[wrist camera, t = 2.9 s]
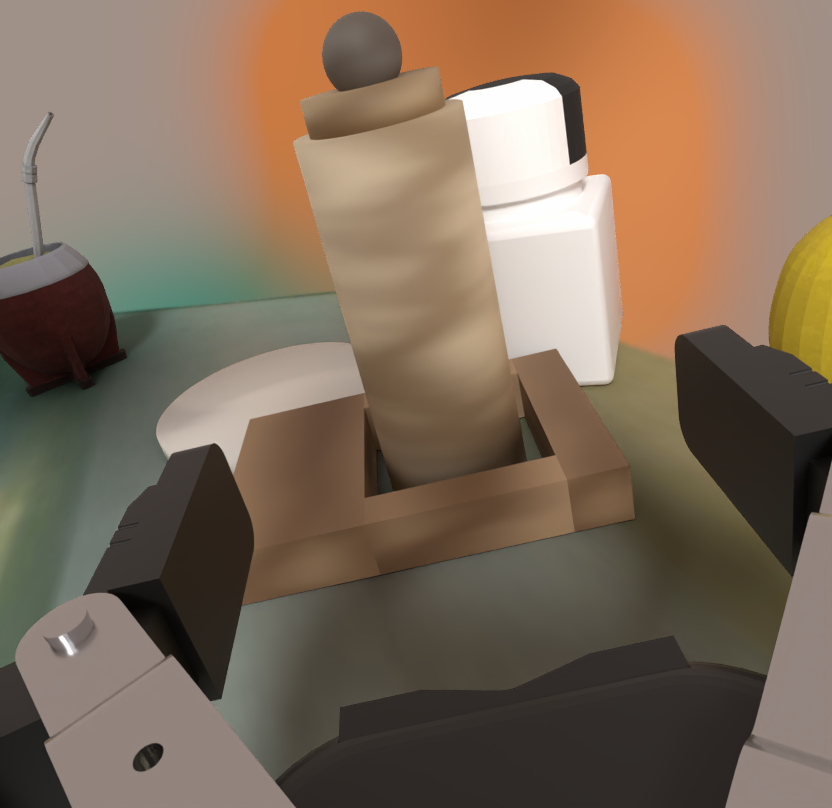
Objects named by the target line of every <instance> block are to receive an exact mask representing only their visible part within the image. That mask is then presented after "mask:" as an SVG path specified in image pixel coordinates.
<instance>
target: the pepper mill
mask: <svg viewBox="0 0 832 808" xmlns="http://www.w3.org/2000/svg"><path fill="white" fill-rule="evenodd" d="M322 57H323V65H324V69H325V72H326V74H327V76H328V78H329V80H330V81H331V83H332V84H333V85H334V87H335V88H336V89H334V90H331V91H327V92H324V93H321V94H318V95H314V96H311V97H308V98H306V99H303V100H301V101H300V104H301V108H302V112H303V115H304V119H305V123H306V126H307V130H308V133H309V134H307V135H305V136H302V137H300V138H298V139H296V140H295V141H294V142H293V145H294V148H295V152H296V155H297V158H298V162H299V166H300V169H301V172H302V176H303V180H304V183H305V186H306V190H307V193H308V197H309V200H310V204H311V207H312V211H313V214H314V218H315V221H316V224H317V228H318V232H319V235H320V239H321V242H322V245H323V249H324V252H325V256H326V259H327V263H328V266H329V270H330V273H331V276H332V280H333V283H334V287H335V291H336V294H337V297H338V301H339V304H340V308H341V311H342V315H343V318H344V322H345V325H346V329H347V332H348V336H349V339H350V343H351V346H352V349H353V353H354V356H355V360H356V363H357V367H358V370H359V374H360V377H361V381H362V384H363V388H364V391H365V395H366V398H367V401H368V405H369V408H370V412H371V415H372V419H373V422H374V426H375V429H376V433H377V436H378V440H379V443H380V447H381V450H382V453H383V457H384V460H385V464H386V467H387V471H388V474H389V478H390V481H391V485H392V488H393V492H394V491H399V490H403V489H407V488H412V487H416V486H421V485H425V484H430V483H434V482H439V481H443V480H447V479H452V478H456V477H461V476H465V475H470V474H474V473H479V472H483V471H487V470H492V469H496V468H501V467H505V466H510V465H514V464H519V463H523V462H527V460H526V455H525V449H524V444H523V438H522V432H521V427H520V421H519V415H518V410H517V404H516V398H515V393H514V387H513V381H512V376H511V370H510V365H509V359H508V353H507V348H506V342H505V336H504V331H503V325H502V319H501V314H500V308H499V303H498V297H497V291H496V286H495V280H494V274H493V269H492V263H491V257H490V252H489V246H488V240H487V235H486V229H485V224H484V218H483V212H482V207H481V201H480V195H479V190H478V184H477V178H476V173H475V167H474V161H473V156H472V150H471V145H470V139H469V133H468V128H467V122H466V116H465V111H464V105H463V101H462V100H459V99H450V100H444V96H443V90H442V84H441V79H440V74H439V69H438V67H428V68H422V69H418V70H412V71H407V72H402V73H400V70H401V65H402V50H401V45H400V42H399V39H398V37H397V35H396V33H395V31H394V30H393V29H392V27H391V26H390V25H389V24H388V23H387V22H386V21H385V20H384V19H382V18H381V17H379V16H377V15H375V14H372V13H368V12H353V13H350V14H347V15H345V16H343V17H341V18H340V19H338V20H337V21H336V22H335V23H334V24H333V25H332V27H331V28H330V30H329V31H328V33H327V35H326V37H325V40H324V44H323V52H322Z"/></svg>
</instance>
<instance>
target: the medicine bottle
mask: <svg viewBox="0 0 832 808" xmlns="http://www.w3.org/2000/svg"><path fill="white" fill-rule="evenodd" d="M450 99H459V100H462V101H463V105H464V111H465V116H466V122H467V128H468V133H469V139H470V145H471V150H472V156H473V161H474V167H475V173H476V178H477V184H478V190H479V195H480V201H481V207H482V212H483V218H484V224H485V229H486V235H487V240H488V246H489V252H490V257H491V263H492V269H493V274H494V280H495V286H496V291H497V297H498V303H499V308H500V314H501V319H502V325H503V331H504V336H505V342H506V348H507V353H508V359H513V358H517V357H521V356H526V355H530V354H534V353H539V352H543V351H547V350H552V349H557V350H558V352H559V354H560V355H561V357H562V358H563V360H564V362H565V363H566V365H567V366H568V368H569V369H570V371H571V373H572V374H573V376H574V377H575V379H576V381H577V382H578V384H579V385H580V386H590V385H607V384H609V383H610V382H611V381H612V380H613V377H614V371H615V364H616V357H617V350H618V343H619V336H620V330H621V323H622V316H623V311H622V299H621V289H620V278H619V266H618V255H617V245H616V233H615V223H614V211H613V201H612V190H611V181H610V178H609V177H608V176H606V175H603V174H600V175H593V176H586V175H587V173H588V162H587V154H586V153H587V152H586V144H585V133H584V124H583V114H582V105H581V95H580V87H579V85H578V84H577V83H576V82H575V81H574V80H573V79H572V78H569V77H566V76H563V75H560V74H556V73H540V74H532V75H524V76H517V77H511V78H506V79H502V80H498V81H493V82H490V83H486V84H483V85H479V86H476V87H473V88H470V89H467V90H465V91H462V92H459V93H456V94H454V95H451V96H449V97H447V98H446V99H445V100H450ZM585 176H586V177H585Z"/></svg>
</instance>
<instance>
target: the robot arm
mask: <svg viewBox="0 0 832 808" xmlns="http://www.w3.org/2000/svg"><path fill="white" fill-rule="evenodd" d="M675 363H676V379H677V395H678V410H679V421H680V426H681V430H682V433H683V436H684V439H685V442H686V444H687V446H688V448H689V449H690V451H691V452H692V454H693V455H694V456H695V457H696V458H697V460H698V461H699V462H700V463H701V465H702V466H703V467H704V468H705V470H706V471H707V472H708V473H709V475H710V476H711V477H712V478H713V480H714V481H715V482H716V483H717V485H718V486H719V487H720V488H721V490H722V491H723V492H724V493H725V494H726V496H727V497H728V498H729V499H730V501H731V502H732V503H733V504H734V506H735V507H736V508H737V509H738V511H739V512H740V513H741V514H742V516H743V517H744V518H745V519H746V521H747V522H748V523H749V524H750V525H751V527H752V528H753V529H754V530H755V532H756V533H757V534H758V535H759V537H760V538H761V539H762V540H763V542H764V543H765V544H766V545H767V547H768V548H769V549H770V550H771V552H772V553H773V554H774V555H775V557H776V558H777V559H778V560H779V561H780V563H781V564H782V565H783V566H784V568H785V569H786V570H787V571H788V573H789V574H790V575H791V576H793V580H792V584H791V588H790V592H789V595H788V599H787V603H786V607H785V611H784V615H783V618H782V622H781V626H780V630H779V634H778V638H777V641H776V645H775V649H774V653H773V657H772V661H771V664H770V668H769V672H768V676H766V675H763V674H760V673H756V672H753V671H750V670H746V669H743V668H738V667H733V666H728V665H723V664H715V663H706V662H687V661H686V659H685V657H684V655H683V653H682V652H681V650H680V648H679V646H678V644H677V642H676V640H675V638H674V636H669V637H665V638H660V639H655V640H651V641H646V642H641V643H637V644H632V645H628V646H623V647H618V648H614V649H609V650H604V651H600V652H595V653H590V654H588V655H586V656H584V657H582V658H579V659H577V660H575V661H573V662H571V663H569V664H566V665H564V666H562V667H560V668H558V669H555V670H553V671H551V672H549V673H547V674H545V675H542V676H540V677H538V678H536V679H534V680H532V681H529V682H527V683H525V684H523V685H521V686H518V687H516V688H513V689H509V690H502V691H472V690H419V691H414V692H410V693H405V694H401V695H396V696H391V697H387V698H382V699H377V700H373V701H368V702H364V703H359V704H354V705H350V706H345V707H340V728H339V736H338V737H336V738H334V739H332V740H330V741H328V742H326V743H325V744H323V745H321V746H320V747H318V748H316V749H315V750H313V751H311V752H310V753H308V754H307V755H306V756H304V757H303V758H302V759H300V760H299V761H297V762H296V763H295V764H293V765H292V766H291V767H290V768H289V769H288V770H287V771H286V772H284V773H283V774H282V775H281V776H280V777H279V778H278V779H277V780H276V781H274V780H273V779H272V778H271V776H270V775H269V774H268V773H267V771H266V770H265V769H264V768H263V766H262V765H261V764H260V763H259V762H258V760H257V759H256V758H255V757H254V755H253V754H252V753H251V752H250V750H249V749H248V748H247V747H246V745H245V744H244V743H243V742H242V740H241V739H240V738H239V737H238V735H237V734H236V733H235V732H234V731H233V729H232V728H231V727H230V726H229V724H228V723H227V722H226V721H225V719H224V718H223V717H222V716H221V714H220V713H219V712H218V711H217V709H216V708H215V707H214V706H213V705H212V703H211V702H210V701H213V700H218V699H221V698H222V693H223V689H224V684H225V680H226V675H227V670H228V666H229V661H230V657H231V652H232V648H233V643H234V638H235V634H236V629H237V625H238V620H239V616H240V611H241V606H242V602H243V597H244V593H245V588H246V584H247V579H248V574H249V570H250V565H251V561H252V556H253V552H254V531H253V525H252V521H251V518H250V515H249V512H248V510H247V507H246V505H245V503H244V500H243V498H242V495H241V493H240V491H239V488H238V486H237V483H236V481H235V478H234V476H233V474H232V471H231V469H230V466H229V464H228V462H227V459H226V457H225V455H224V453H223V451H222V449H221V448H220V446H219V445H217V444H215V443H213V444H209V445H204V446H200V447H196V448H192V449H187V450H183V451H179V452H175V453H172V454H171V456H170V458H169V460H168V462H167V464H166V466H165V468H164V470H163V473H162V475H161V477H160V479H159V481H158V483H157V485H154V486H150V487H148V488H147V489H146V490H145V491H144V492H143V493H142V494H141V495H140V496H139V497H138V498H137V499H136V500H135V501H134V502H133V503H132V504H131V505H130V506H129V507H128V508H127V510H126V512H125V514H124V516H123V518H122V520H121V522H120V524H119V526H118V529H119V530H118V531H116V532H115V534H114V536H113V538H112V540H111V542H110V547H109V548H107V549H106V551H105V553H104V555H103V557H102V559H101V561H100V563H99V565H98V567H97V569H96V571H95V573H94V575H93V577H92V579H91V581H90V583H89V585H88V587H87V588H86V590H85V592H84V594H83V596H81V597H78V598H75V599H73V600H70V601H68V602H66V603H64V604H62V605H60V606H58V607H57V608H55V609H54V610H52V611H50V612H49V613H47V614H46V615H45V616H44V617H42V618H41V619H40V620H39V621H38V622H36V623H35V624H34V625H33V626H32V627H31V628H30V629H29V631H28V632H27V633H26V634H25V635H24V637H23V638H22V640H21V641H20V643H19V645H18V647H17V650H16V653H15V662H13V663H11V664H9V665H7V666H4V667H2V668H0V808H832V383H830V384H829V382H828V380H827V379H826V378H825V377H823V376H822V375H820V374H819V373H818V372H816V371H814V372H813V371H812V368H811V367H809V366H808V365H807V364H805V363H804V362H802V361H801V360H800V359H798V358H797V357H795V356H794V355H793V354H790V353H787V352H784V351H781V350H777V349H774V348H771V347H768V346H764V345H760V346H756V347H753V346H752V345H751V344H749V343H748V342H746V341H745V340H744V339H743V338H741V337H740V336H739V335H738V334H736V333H735V332H734V331H733V330H731V329H730V328H729V327H727V326H725V325H720V326H716V327H712V328H708V329H703V330H699V331H695V332H691V333H686V334H682V335H679V336H678V337H677V339H676V341H675Z"/></svg>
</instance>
